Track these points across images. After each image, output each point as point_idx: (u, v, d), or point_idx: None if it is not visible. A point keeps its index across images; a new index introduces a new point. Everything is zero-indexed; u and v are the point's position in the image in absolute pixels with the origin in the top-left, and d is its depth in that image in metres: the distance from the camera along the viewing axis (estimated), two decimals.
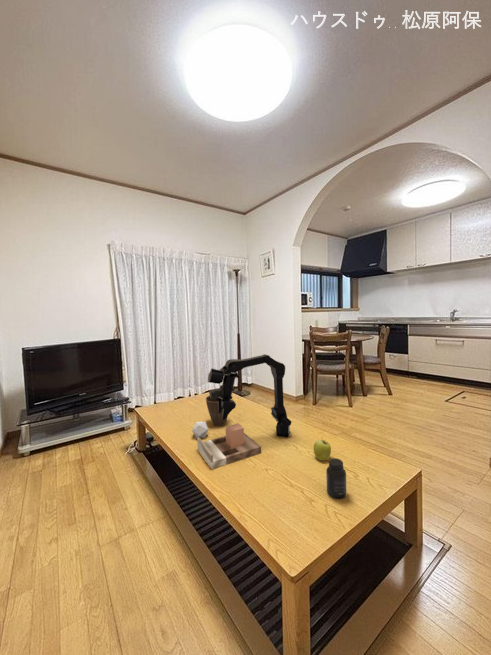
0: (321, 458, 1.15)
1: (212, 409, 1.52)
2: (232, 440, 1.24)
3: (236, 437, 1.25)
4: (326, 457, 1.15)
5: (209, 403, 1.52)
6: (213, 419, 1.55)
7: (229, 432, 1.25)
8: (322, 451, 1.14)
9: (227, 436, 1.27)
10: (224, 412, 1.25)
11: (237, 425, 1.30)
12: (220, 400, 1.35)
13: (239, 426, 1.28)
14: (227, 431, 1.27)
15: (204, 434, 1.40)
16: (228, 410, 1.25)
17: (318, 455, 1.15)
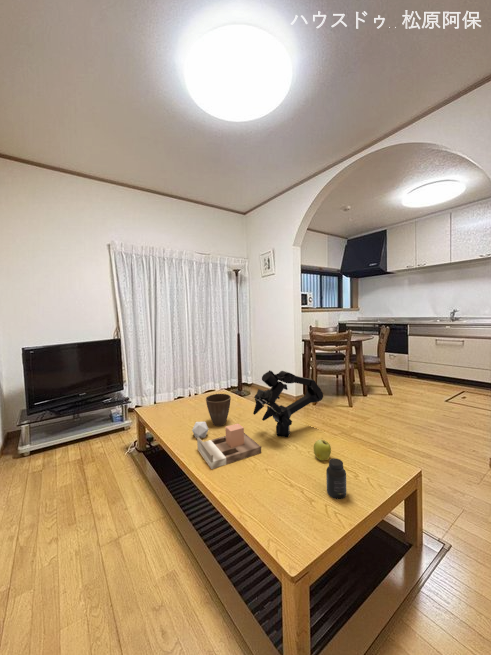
0: (321, 458, 1.15)
1: (212, 409, 1.52)
2: (232, 440, 1.24)
3: (236, 437, 1.25)
4: (326, 457, 1.15)
5: (209, 403, 1.52)
6: (213, 419, 1.55)
7: (229, 432, 1.25)
8: (322, 451, 1.14)
9: (227, 436, 1.27)
10: (267, 413, 1.30)
11: (237, 425, 1.30)
12: (259, 403, 1.40)
13: (239, 426, 1.28)
14: (227, 431, 1.27)
15: (204, 434, 1.40)
16: (271, 413, 1.31)
17: (318, 455, 1.15)
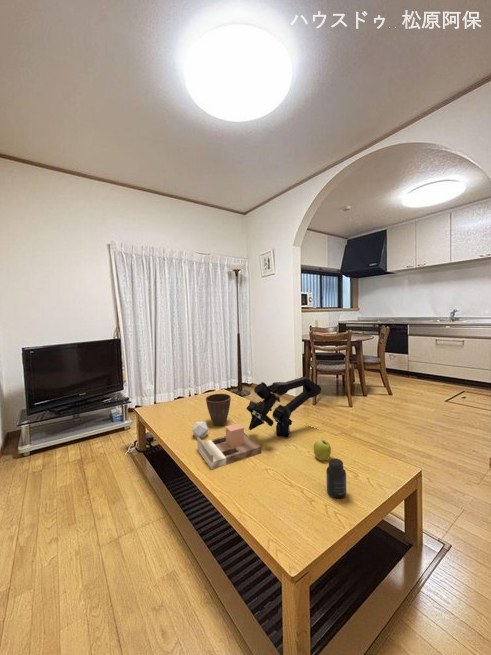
0: (321, 458, 1.15)
1: (212, 409, 1.52)
2: (232, 440, 1.24)
3: (236, 437, 1.25)
4: (326, 457, 1.15)
5: (209, 403, 1.52)
6: (213, 419, 1.55)
7: (229, 432, 1.25)
8: (322, 451, 1.14)
9: (227, 436, 1.27)
10: (254, 423, 1.32)
11: (237, 425, 1.30)
12: None
13: (239, 426, 1.28)
14: (227, 431, 1.27)
15: (204, 434, 1.40)
16: (258, 423, 1.32)
17: (318, 455, 1.15)
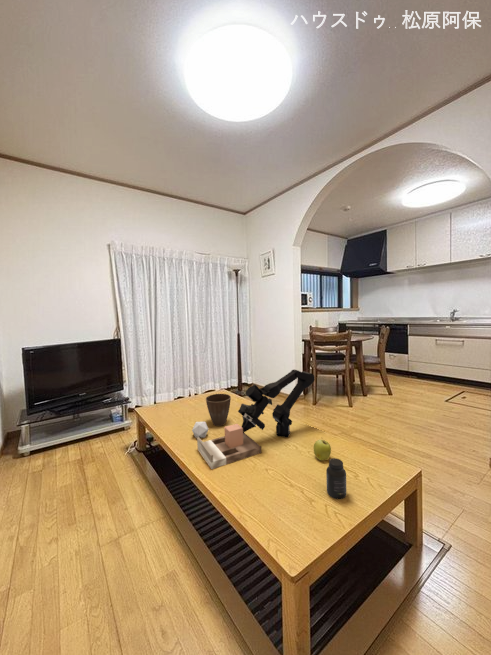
0: (321, 458, 1.15)
1: (212, 409, 1.52)
2: (231, 440, 1.24)
3: (235, 437, 1.25)
4: (326, 457, 1.15)
5: (209, 403, 1.52)
6: (213, 419, 1.55)
7: (228, 432, 1.25)
8: (322, 451, 1.14)
9: (226, 437, 1.27)
10: (245, 426, 1.29)
11: (236, 425, 1.29)
12: None
13: (238, 426, 1.28)
14: (226, 431, 1.26)
15: (204, 434, 1.40)
16: (249, 426, 1.30)
17: (318, 455, 1.15)
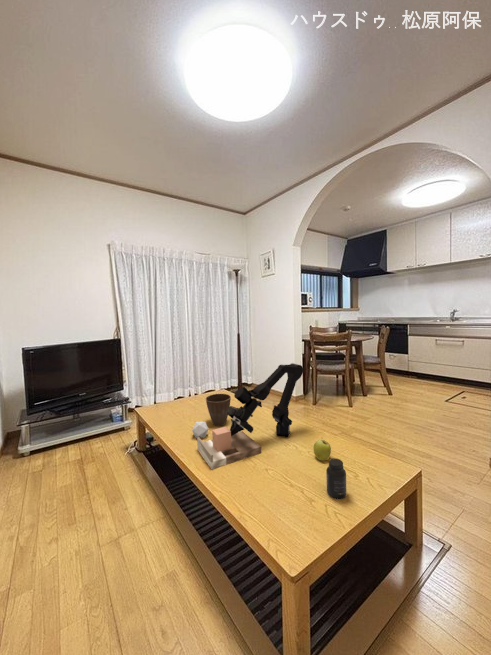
0: (321, 458, 1.15)
1: (212, 409, 1.52)
2: (218, 444, 1.21)
3: (223, 441, 1.22)
4: (326, 457, 1.15)
5: (209, 403, 1.52)
6: (213, 419, 1.55)
7: (215, 436, 1.22)
8: (322, 451, 1.14)
9: (214, 440, 1.24)
10: (234, 429, 1.26)
11: (224, 428, 1.26)
12: None
13: (226, 430, 1.25)
14: (214, 434, 1.23)
15: (204, 434, 1.40)
16: (238, 429, 1.27)
17: (318, 455, 1.15)
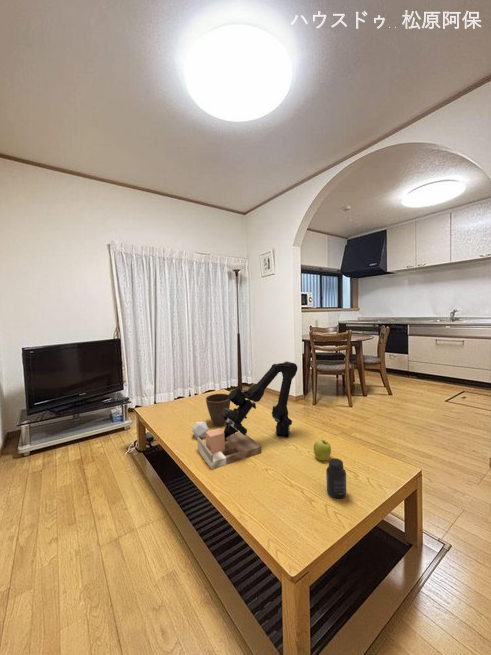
0: (321, 458, 1.15)
1: (212, 409, 1.52)
2: (212, 446, 1.19)
3: (216, 442, 1.20)
4: (326, 457, 1.15)
5: (209, 403, 1.52)
6: (213, 419, 1.55)
7: (209, 437, 1.20)
8: (322, 451, 1.14)
9: (207, 442, 1.22)
10: (227, 432, 1.25)
11: (218, 430, 1.25)
12: None
13: (220, 431, 1.23)
14: (207, 436, 1.22)
15: (204, 434, 1.40)
16: (231, 431, 1.26)
17: (318, 455, 1.15)
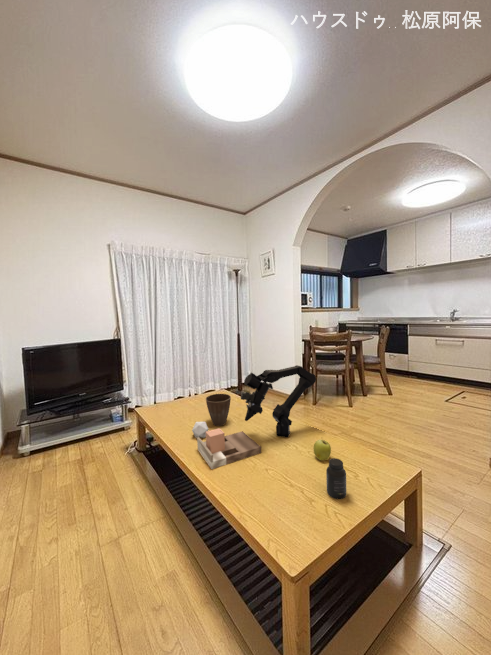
0: (321, 458, 1.15)
1: (212, 409, 1.52)
2: (212, 446, 1.19)
3: (216, 442, 1.20)
4: (326, 457, 1.15)
5: (209, 403, 1.52)
6: (213, 419, 1.55)
7: (209, 437, 1.20)
8: (322, 451, 1.14)
9: (207, 442, 1.22)
10: (248, 413, 1.32)
11: (218, 430, 1.25)
12: None
13: (220, 431, 1.23)
14: (207, 436, 1.22)
15: (204, 434, 1.40)
16: (252, 413, 1.32)
17: (318, 455, 1.15)
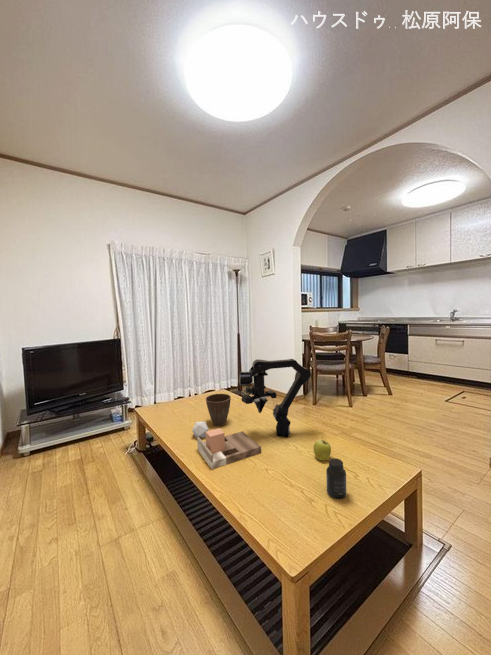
0: (321, 458, 1.15)
1: (212, 409, 1.52)
2: (212, 446, 1.19)
3: (216, 442, 1.20)
4: (326, 457, 1.15)
5: (209, 403, 1.52)
6: (213, 419, 1.55)
7: (209, 437, 1.20)
8: (322, 451, 1.14)
9: (207, 442, 1.22)
10: (256, 405, 1.40)
11: (218, 430, 1.25)
12: (259, 400, 1.40)
13: (220, 431, 1.23)
14: (207, 436, 1.22)
15: (204, 434, 1.40)
16: (258, 404, 1.38)
17: (318, 455, 1.15)
